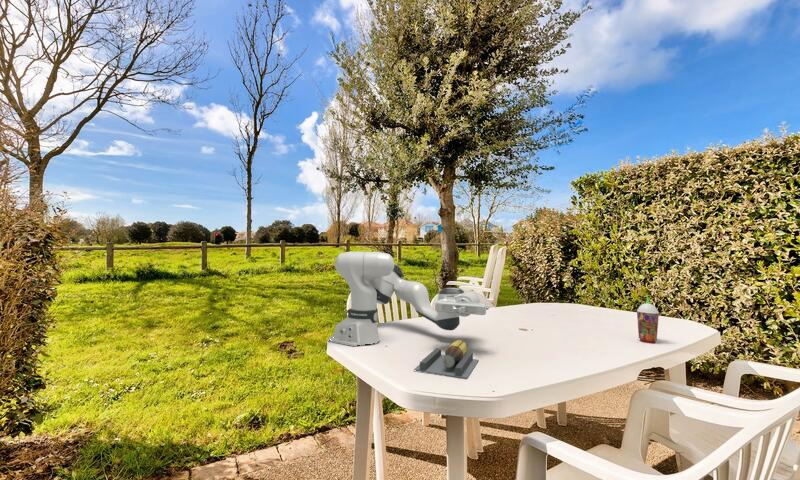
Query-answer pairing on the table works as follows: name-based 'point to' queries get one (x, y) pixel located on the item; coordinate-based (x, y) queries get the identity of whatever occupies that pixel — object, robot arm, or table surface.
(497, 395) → the table surface
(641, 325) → the smoothie
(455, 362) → the sauce bottle
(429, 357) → the holder
